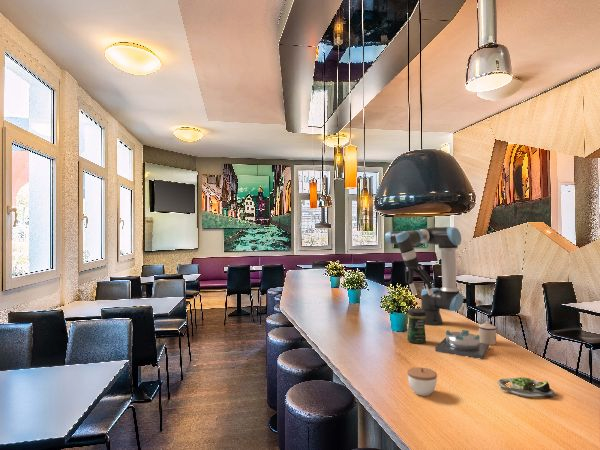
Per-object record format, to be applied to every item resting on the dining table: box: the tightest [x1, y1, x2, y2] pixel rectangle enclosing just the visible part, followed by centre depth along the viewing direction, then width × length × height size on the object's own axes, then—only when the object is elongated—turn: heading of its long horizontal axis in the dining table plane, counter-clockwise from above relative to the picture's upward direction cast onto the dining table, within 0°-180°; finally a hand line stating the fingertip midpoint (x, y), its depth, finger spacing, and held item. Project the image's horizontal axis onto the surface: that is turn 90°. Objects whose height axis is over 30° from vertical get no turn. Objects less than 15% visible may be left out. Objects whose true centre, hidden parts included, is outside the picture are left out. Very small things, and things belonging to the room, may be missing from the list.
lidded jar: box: [407, 366, 438, 397], centre depth 143 cm, size 11×11×9 cm
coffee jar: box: [406, 307, 427, 344], centre depth 210 cm, size 10×8×19 cm
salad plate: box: [497, 376, 558, 398], centre depth 146 cm, size 19×18×5 cm
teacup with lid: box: [477, 321, 497, 346], centre depth 210 cm, size 12×9×12 cm
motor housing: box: [434, 329, 490, 360], centre depth 196 cm, size 22×22×8 cm
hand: (423, 294), depth 210 cm, fingers open, 13 cm apart
